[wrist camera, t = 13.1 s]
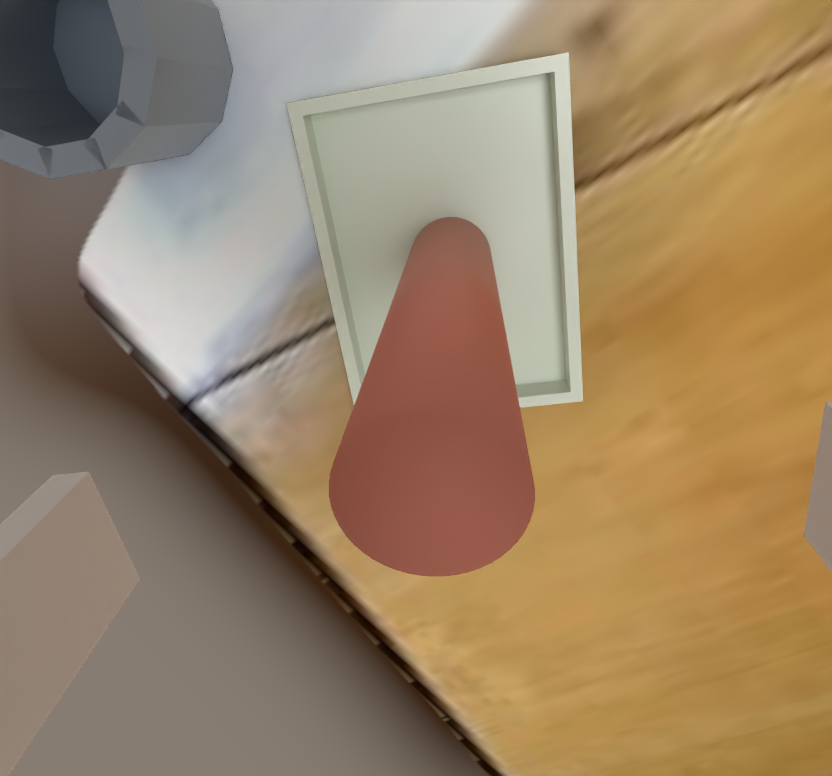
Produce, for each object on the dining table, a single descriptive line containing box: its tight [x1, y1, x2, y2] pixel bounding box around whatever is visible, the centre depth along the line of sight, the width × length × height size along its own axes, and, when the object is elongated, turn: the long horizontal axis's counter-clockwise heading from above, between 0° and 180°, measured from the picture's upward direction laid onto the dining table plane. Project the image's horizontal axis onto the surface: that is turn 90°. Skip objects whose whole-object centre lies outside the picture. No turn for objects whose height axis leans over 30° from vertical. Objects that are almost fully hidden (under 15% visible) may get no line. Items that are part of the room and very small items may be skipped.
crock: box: [0, 0, 233, 179], centre depth 24 cm, size 9×9×8 cm
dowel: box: [329, 217, 535, 576], centre depth 21 cm, size 4×4×20 cm
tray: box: [286, 52, 583, 408], centre depth 29 cm, size 16×12×2 cm
